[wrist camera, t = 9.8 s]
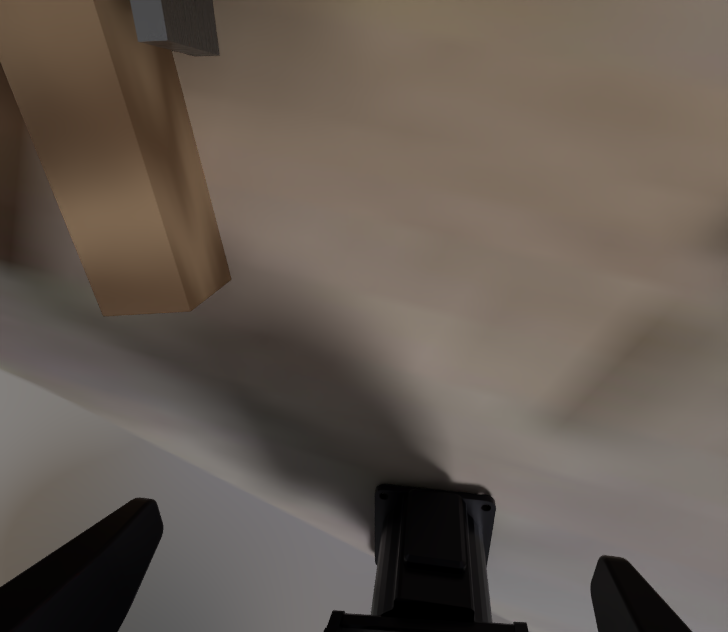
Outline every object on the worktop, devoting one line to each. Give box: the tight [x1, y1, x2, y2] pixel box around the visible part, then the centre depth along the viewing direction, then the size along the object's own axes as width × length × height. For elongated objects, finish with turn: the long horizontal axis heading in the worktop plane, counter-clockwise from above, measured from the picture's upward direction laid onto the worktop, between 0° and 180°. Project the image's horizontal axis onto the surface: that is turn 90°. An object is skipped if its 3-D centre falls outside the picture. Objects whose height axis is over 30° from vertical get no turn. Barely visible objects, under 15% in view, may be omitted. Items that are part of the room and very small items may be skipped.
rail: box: [0, 0, 231, 316], centre depth 16 cm, size 14×4×4 cm, turn 7°
